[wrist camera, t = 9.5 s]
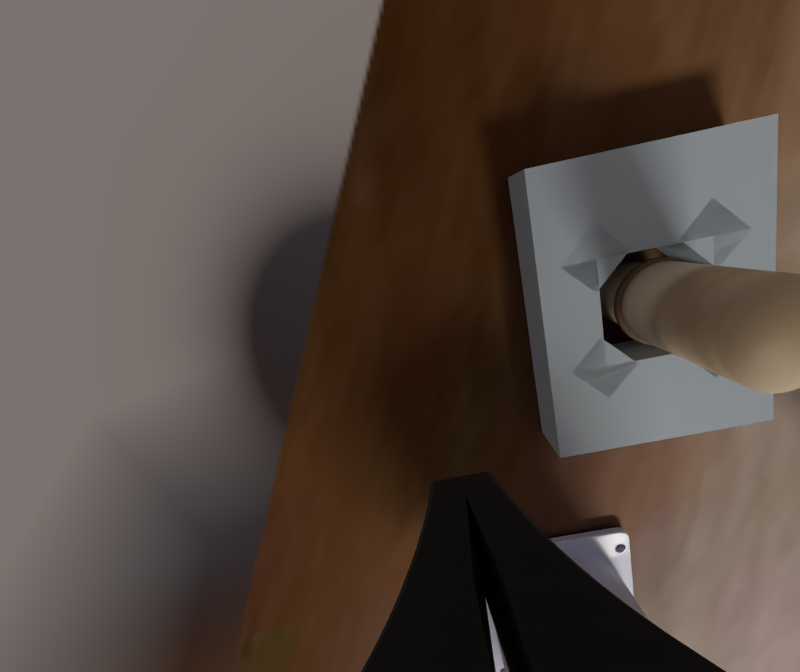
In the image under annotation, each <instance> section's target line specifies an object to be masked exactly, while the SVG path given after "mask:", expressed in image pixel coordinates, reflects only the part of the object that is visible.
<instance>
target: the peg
mask: <svg viewBox="0 0 800 672" xmlns="http://www.w3.org/2000/svg"><path fill="white" fill-rule="evenodd" d="M599 291H600V302H601V313H602V316H603V317H604V318H606V319H607V320H609V321H612V322H614V323H616V324H618V325H619V327H620V328H621V330H622V331H623V332H624V333H625V334H626V335H628V336H629V337H631V338H632V339H634V340H636V341H639V342H641V343H644V344H647V345H654V346H656V347H658V348H661V349H663V350H665V351H667V352H669V353H672V354H674V355H676V356H678V357H681V358H683V359H685V360H687V361H690V362H692V363H694V364H696V365H698V366H701V367H703V368H705V369H707V370H710V371H712V372H714V373H716V374H718V375H721V376H723V377H725V378H727V379H730V380H732V381H734V382H736V383H738V384H741V385H743V386H745V387H747V388H750V389H752V390H754V391H758V392H762V393H784V392H789V391H793V390H796V389H798V388H800V274H793V273H784V272H774V271H765V270H755V269H746V268H736V267H727V266H717V265H708V264H698V263H689V262H687V261H685V260H681V259H676V258H667V257H661V258H654V259H650V260H648V261H645V262H643V263H642V262H634V261H624V262H620V263H619V264H618V266H617V267H616V268H615V270H614V271H613V272H612V273H611V275H610V276H609V277H608V279H607V280H606V281H605V282H604V284H603V285H602V286H601V288H600V289H599Z"/></svg>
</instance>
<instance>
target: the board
mask: <svg viewBox="0 0 800 672" xmlns="http://www.w3.org/2000/svg"><path fill="white" fill-rule="evenodd" d="M777 156H778V114H774V115H769V116H765V117H760V118H756V119H751V120H746V121H742V122H737V123H733V124H728V125H724V126H719V127H714V128H710V129H705V130H701V131H696V132H692V133H687V134H683V135H678V136H673V137H669V138H664V139H660V140H655V141H651V142H646V143H641V144H637V145H632V146H628V147H623V148H619V149H614V150H609V151H605V152H600V153H596V154H591V155H587V156H582V157H577V158H573V159H568V160H564V161H559V162H555V163H550V164H546V165H541V166H536V167H532V168H527V169H524V170H522V171H520V172H518V173H516V174H514V175H512V176H510V177H508V183H509V190H510V198H511V205H512V213H513V220H514V228H515V235H516V242H517V250H518V257H519V265H520V272H521V280H522V287H523V294H524V302H525V309H526V317H527V324H528V332H529V339H530V346H531V354H532V361H533V369H534V376H535V384H536V391H537V398H538V406H539V413H540V421H541V428H542V433H543V434H544V435H545V437H546V438H547V440H548V441H549V443H550V444H551V445H552V447H553V448H554V450H555V451H556V453H557V454H558V456H559V457H560V458H563V457H568V456H574V455H580V454H585V453H591V452H596V451H602V450H608V449H613V448H619V447H624V446H630V445H635V444H641V443H647V442H652V441H658V440H663V439H669V438H675V437H680V436H686V435H691V434H697V433H702V432H708V431H714V430H719V429H725V428H730V427H736V426H741V425H747V424H753V423H758V422H764V421H769V420H773V401H774V393H762V392H758V391H754V390H752V389H750V388H747V387H745V386H743V385H741V384H738V383H736V382H734V381H732V380H730V379H727V378H725V377H723V376H721V375H718V374H716V373H714V372H712V371H710V370H707V369H705V368H703V367H701V366H698V365H696V364H694V363H692V362H690V361H687V360H685V359H683V358H681V357H678V356H676V355H674V354H672V353H669V352H667V351H665V350H663V349H661V348H658V347H656V346H654V345H647V344H644V343H641V342H639V341H636V340H631V341H626V342H621V343H616V344H609V343H608V342H606V341H605V340H604V336H603V324H602V313H601V302H600V291H599V289H600V288H601V286H602V285H603V284H604V282H605V281H606V280H607V279H608V277H609V276H610V275H611V273H612V272H613V271H614V270H615V268H616V267H617V266H618V264H619V263H620V262H621V261H622V259H623V258H624V257H625V255H626V254H627V253H632V252H637V251H642V250H647V249H651V248H657V249H658V250H659V251H661V252H662V253H663V254H665V255H666V256H667V257H669V258H676V259H681V260H685V261H687V262H689V263H698V264H708V265H717V266H727V267H736V268H746V269H755V270H765V271H774V272H776V217H777Z"/></svg>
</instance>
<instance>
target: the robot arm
mask: <svg viewBox="0 0 800 672" xmlns="http://www.w3.org/2000/svg"><path fill="white" fill-rule="evenodd" d="M619 544H621V545H620V546H618V547H616V546H617V545H619ZM361 672H726V671H724V670H722V669H721V668H719V667H718V666H716V665H715V664H713V663H712V662H710V661H709V660H707V659H706V658H704V657H703V656H701V655H700V654H698V653H697V652H695V651H693V650H692V649H690V648H689V647H687V646H686V645H684V644H683V643H681V642H680V641H678V640H677V639H675V638H674V637H672V636H671V635H669V634H668V633H666V632H665V631H663V630H662V629H660V628H659V627H657V626H656V625H655V624H653V623H652V622H651V621H649V620H648V619H647V617H646V616H645V614H644V613H643V611H642V609H641V608H640V606H639V605H638V603H637V601H636V600H635V598H634V591H633V579H632V567H631V555H630V543H629V536H628V534H627V533H626V532H625V530H624V529H623V528H620V527H614V528H609V529H603V530H597V531H591V532H585V533H579V534H573V535H567V536H561V537H555V538H548V537H547V536H546V535H545V534H544V533H543V532H542V531H541V530H540V529H539V528H538V527H537V526H536V525H535V524H534V523H533V522H532V521H531V520H530V519H529V518H528V517H527V516H526V515H525V514H524V513H523V512H522V510H521V509H520V508H519V507H518V506H517V505H516V504H515V503H514V502H513V500H512V499H511V498H510V497H509V496H508V495H507V493H506V492H505V491H504V490H503V489H502V487H501V486H500V485H499V483H498V482H497V481H496V479H495V478H494V476H493V475H491V474H490V473H488V472H483V473H478V474H472V475H467V476H461V477H456V478H450V479H445V480H439V481H434V482H433V484H432V485H431V486H430V496H429V502H428V508H427V512H426V516H425V520H424V524H423V528H422V531H421V534H420V538H419V541H418V544H417V548H416V551H415V554H414V557H413V560H412V562H411V565H410V568H409V570H408V573H407V576H406V578H405V581H404V584H403V586H402V589H401V591H400V594H399V596H398V598H397V601H396V603H395V605H394V608H393V610H392V612H391V614H390V617H389V619H388V621H387V623H386V625H385V627H384V629H383V631H382V633H381V635H380V637H379V639H378V641H377V643H376V645H375V647H374V649H373V651H372V653H371V655H370V657H369V658H368V660H367V662H366V664H365V666H364V668H363V670H362V671H361Z"/></svg>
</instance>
